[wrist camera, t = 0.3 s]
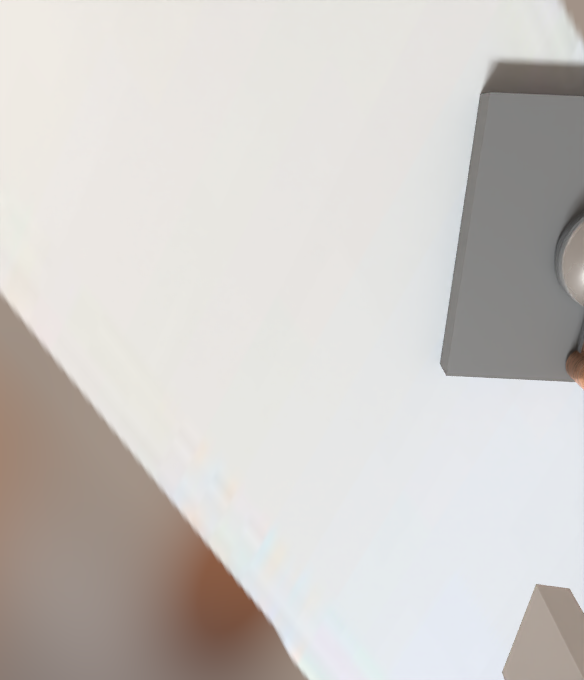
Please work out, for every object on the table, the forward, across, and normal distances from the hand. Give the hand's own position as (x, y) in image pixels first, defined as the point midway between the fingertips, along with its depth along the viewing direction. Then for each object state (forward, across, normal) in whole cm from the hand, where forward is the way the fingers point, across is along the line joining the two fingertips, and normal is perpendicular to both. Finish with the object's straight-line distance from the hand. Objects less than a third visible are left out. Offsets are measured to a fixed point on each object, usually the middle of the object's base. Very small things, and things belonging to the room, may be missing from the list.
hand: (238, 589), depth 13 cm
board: (+28, +20, +5) cm, 35 cm away
